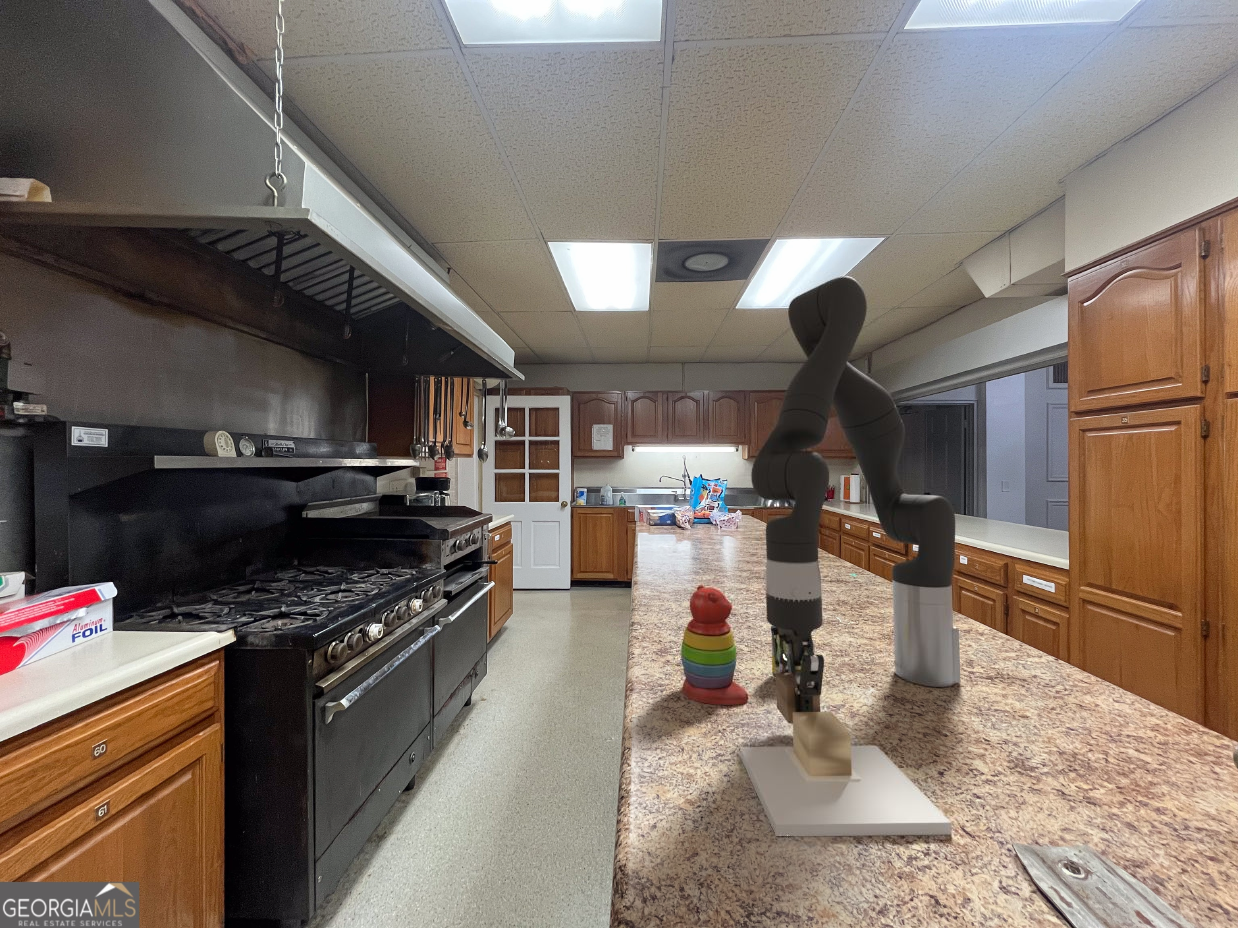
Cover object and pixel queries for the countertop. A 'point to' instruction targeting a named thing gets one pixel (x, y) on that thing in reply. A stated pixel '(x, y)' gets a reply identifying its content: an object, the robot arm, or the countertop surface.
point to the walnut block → (789, 696)
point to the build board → (840, 796)
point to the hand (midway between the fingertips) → (797, 710)
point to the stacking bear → (710, 651)
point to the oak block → (822, 744)
